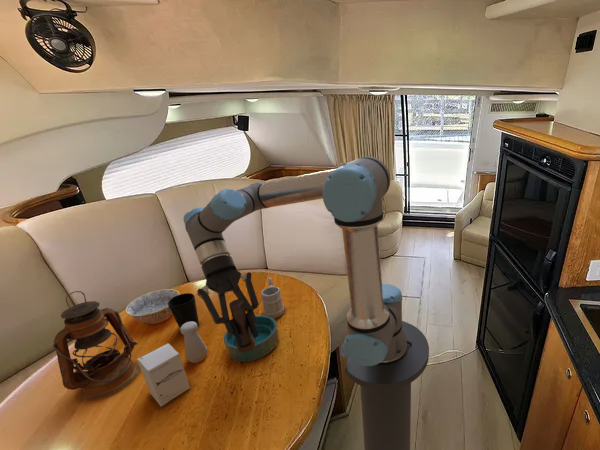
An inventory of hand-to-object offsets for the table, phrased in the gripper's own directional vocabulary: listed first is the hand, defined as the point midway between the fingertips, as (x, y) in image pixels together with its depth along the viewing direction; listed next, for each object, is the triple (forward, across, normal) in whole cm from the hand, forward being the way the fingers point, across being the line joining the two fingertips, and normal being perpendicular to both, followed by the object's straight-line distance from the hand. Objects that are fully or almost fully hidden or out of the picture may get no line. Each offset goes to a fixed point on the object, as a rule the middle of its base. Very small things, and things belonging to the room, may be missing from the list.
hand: (248, 340), depth 80 cm
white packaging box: (+1, +18, -25) cm, 31 cm away
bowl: (-29, +16, -54) cm, 63 cm away
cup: (-19, +8, -44) cm, 49 cm away
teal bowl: (-1, -5, -27) cm, 27 cm away
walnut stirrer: (0, 0, -6) cm, 6 cm away
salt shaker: (-5, +10, -31) cm, 33 cm away
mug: (-11, -18, -37) cm, 42 cm away
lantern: (-11, +30, -36) cm, 49 cm away
